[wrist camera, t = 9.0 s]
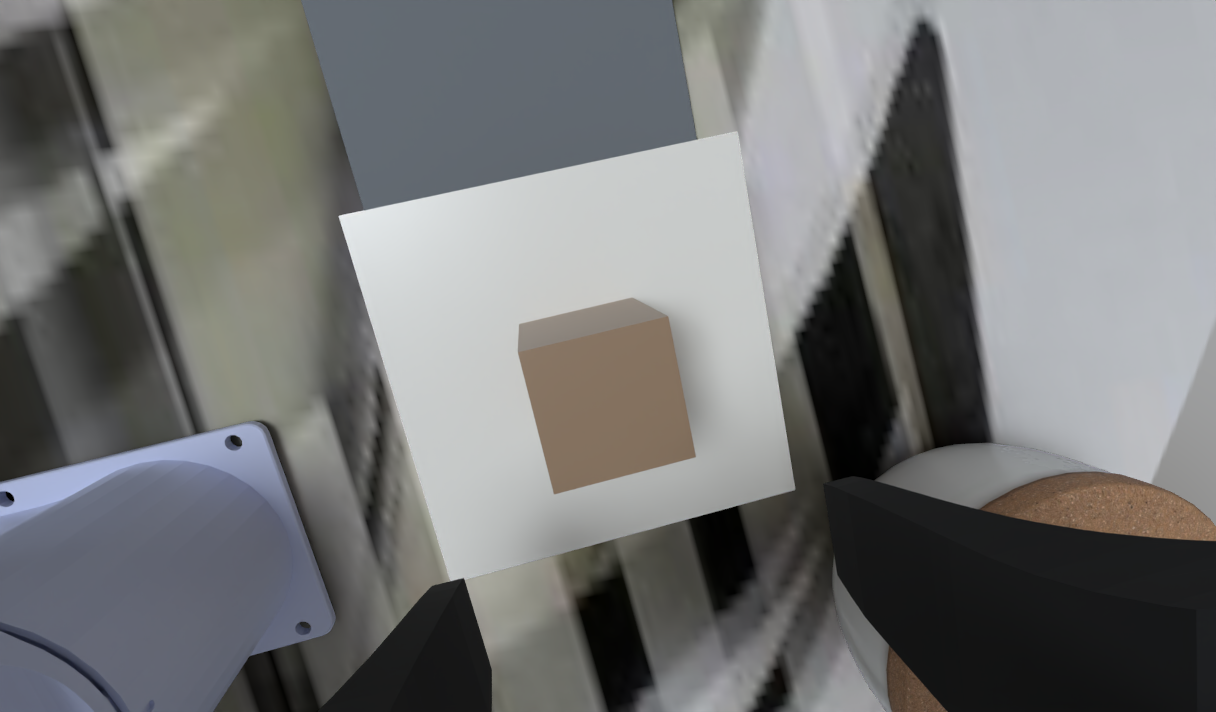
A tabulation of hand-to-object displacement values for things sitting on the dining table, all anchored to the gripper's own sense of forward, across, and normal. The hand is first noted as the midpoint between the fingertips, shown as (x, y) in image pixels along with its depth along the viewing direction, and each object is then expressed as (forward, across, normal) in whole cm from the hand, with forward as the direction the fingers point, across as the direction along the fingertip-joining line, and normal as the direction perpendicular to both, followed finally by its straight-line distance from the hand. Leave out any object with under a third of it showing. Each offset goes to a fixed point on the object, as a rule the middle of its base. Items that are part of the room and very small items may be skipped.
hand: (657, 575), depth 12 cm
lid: (+6, 0, -3) cm, 7 cm away
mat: (+10, 0, -13) cm, 17 cm away
